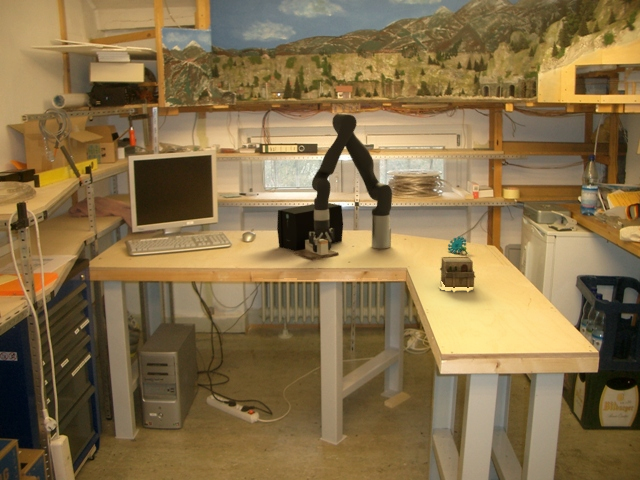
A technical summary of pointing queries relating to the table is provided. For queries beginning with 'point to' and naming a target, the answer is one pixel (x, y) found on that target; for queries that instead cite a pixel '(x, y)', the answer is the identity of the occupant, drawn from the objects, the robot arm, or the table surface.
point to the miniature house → (457, 272)
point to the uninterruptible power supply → (305, 225)
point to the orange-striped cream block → (322, 247)
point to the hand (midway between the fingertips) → (322, 250)
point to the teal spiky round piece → (457, 245)
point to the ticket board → (311, 254)
